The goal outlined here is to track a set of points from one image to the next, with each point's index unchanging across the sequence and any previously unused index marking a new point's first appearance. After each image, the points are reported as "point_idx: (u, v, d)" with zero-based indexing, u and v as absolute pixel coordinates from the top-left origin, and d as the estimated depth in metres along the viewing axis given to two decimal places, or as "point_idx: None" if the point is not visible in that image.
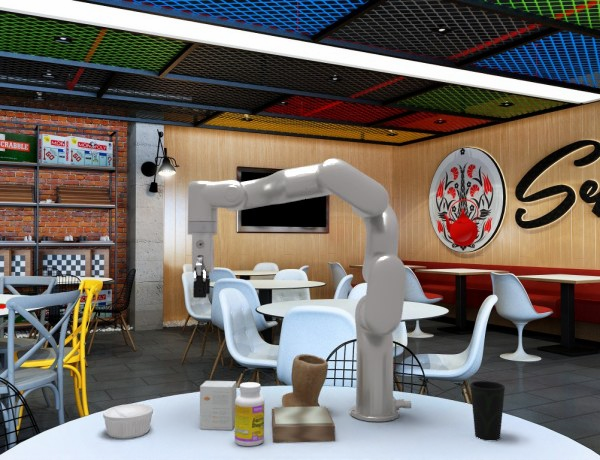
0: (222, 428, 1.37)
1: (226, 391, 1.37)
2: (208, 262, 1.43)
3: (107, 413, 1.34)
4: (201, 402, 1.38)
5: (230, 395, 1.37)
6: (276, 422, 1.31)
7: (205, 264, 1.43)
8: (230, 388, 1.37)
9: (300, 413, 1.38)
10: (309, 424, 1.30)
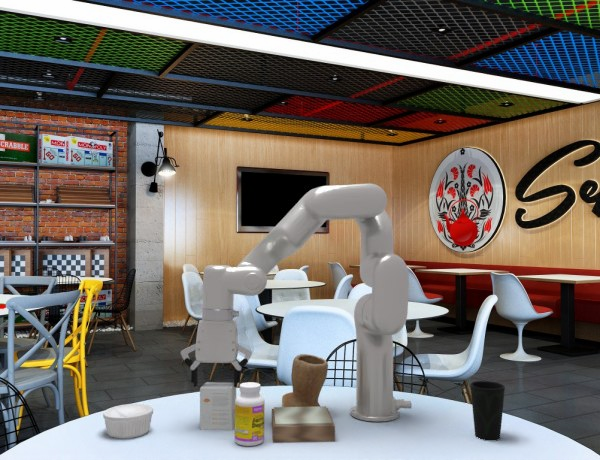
0: None
1: (226, 393, 1.37)
2: None
3: (107, 413, 1.34)
4: (201, 404, 1.38)
5: (230, 397, 1.37)
6: (276, 422, 1.31)
7: (237, 351, 1.42)
8: (230, 390, 1.37)
9: (300, 413, 1.38)
10: (309, 424, 1.30)
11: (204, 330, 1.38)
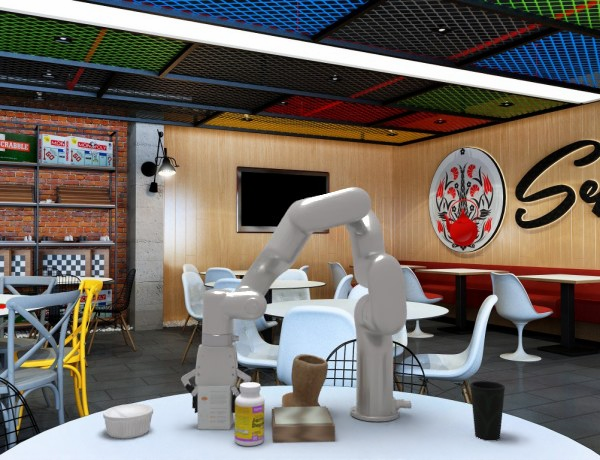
0: (220, 428, 1.38)
1: (224, 391, 1.38)
2: None
3: (107, 413, 1.34)
4: (199, 402, 1.38)
5: (228, 395, 1.38)
6: (276, 422, 1.31)
7: (237, 376, 1.42)
8: (228, 388, 1.38)
9: (300, 413, 1.38)
10: (309, 424, 1.30)
11: (204, 355, 1.38)
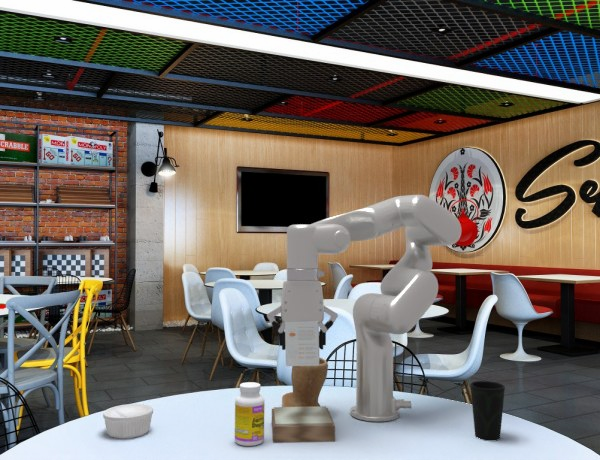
0: (309, 364, 1.34)
1: (312, 326, 1.34)
2: None
3: (107, 413, 1.34)
4: (286, 338, 1.35)
5: (316, 330, 1.34)
6: (276, 422, 1.31)
7: None
8: (316, 323, 1.34)
9: (300, 413, 1.38)
10: (309, 424, 1.30)
11: (290, 290, 1.35)
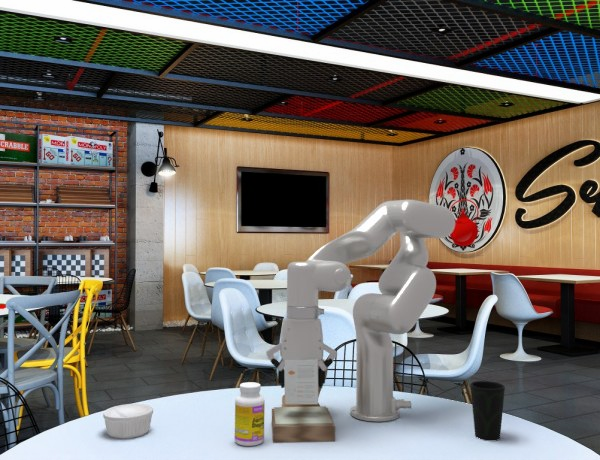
0: (308, 402, 1.34)
1: (311, 364, 1.34)
2: None
3: (107, 413, 1.34)
4: (285, 376, 1.34)
5: (316, 368, 1.34)
6: (276, 422, 1.31)
7: None
8: (316, 361, 1.34)
9: (300, 413, 1.38)
10: (309, 424, 1.30)
11: (290, 328, 1.35)
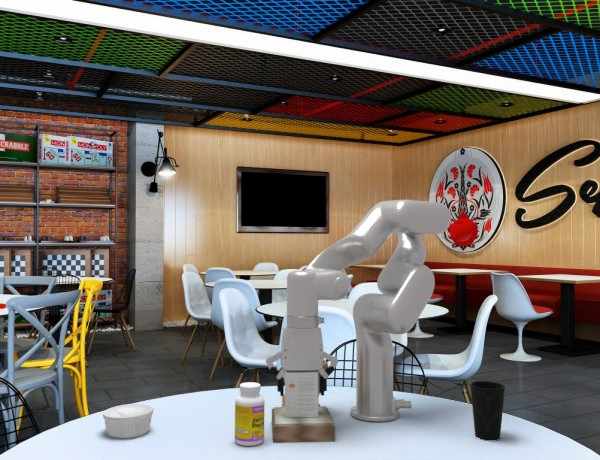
0: (308, 415, 1.34)
1: (312, 377, 1.34)
2: None
3: (107, 413, 1.34)
4: (286, 389, 1.34)
5: (316, 381, 1.34)
6: (276, 422, 1.31)
7: None
8: (316, 374, 1.34)
9: None
10: (309, 424, 1.30)
11: (290, 338, 1.35)
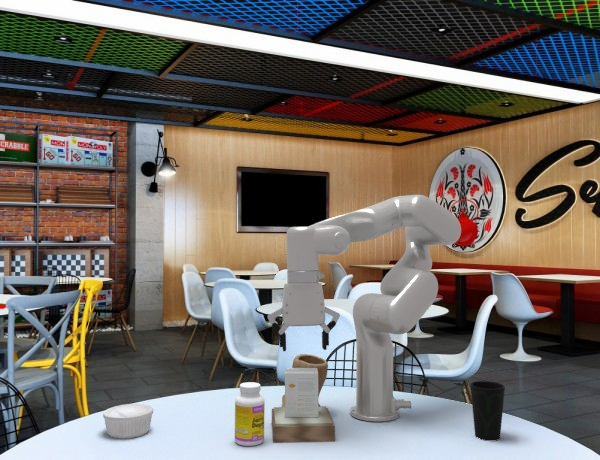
0: (308, 415, 1.34)
1: (312, 377, 1.34)
2: None
3: (107, 413, 1.34)
4: (286, 389, 1.34)
5: (316, 381, 1.34)
6: (276, 422, 1.31)
7: None
8: (316, 374, 1.34)
9: None
10: (309, 424, 1.30)
11: (291, 293, 1.35)
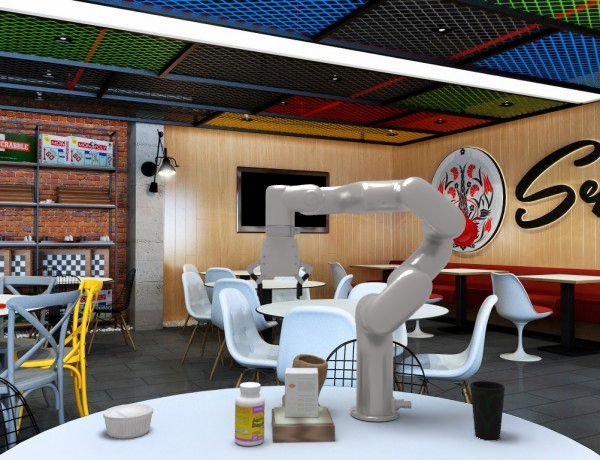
0: (308, 415, 1.34)
1: (312, 377, 1.34)
2: None
3: (107, 413, 1.34)
4: (286, 389, 1.34)
5: (316, 381, 1.34)
6: (276, 422, 1.31)
7: None
8: (316, 374, 1.34)
9: None
10: (309, 424, 1.30)
11: (268, 246, 1.47)
